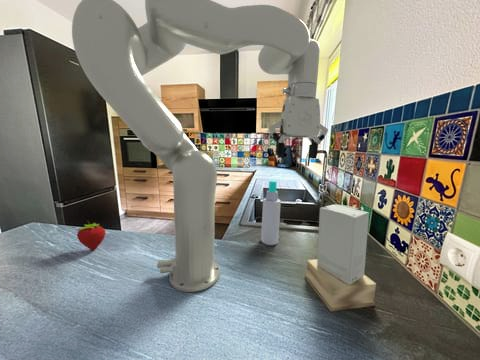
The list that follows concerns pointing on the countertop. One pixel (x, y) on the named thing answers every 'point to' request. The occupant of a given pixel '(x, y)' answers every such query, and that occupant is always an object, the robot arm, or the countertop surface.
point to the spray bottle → (271, 216)
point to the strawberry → (91, 235)
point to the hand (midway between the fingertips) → (296, 158)
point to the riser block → (340, 289)
